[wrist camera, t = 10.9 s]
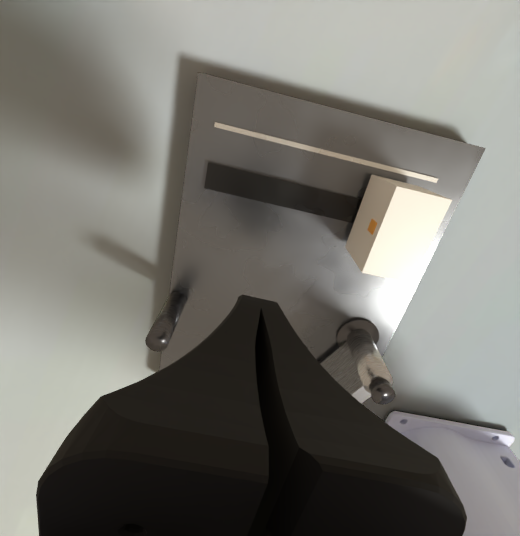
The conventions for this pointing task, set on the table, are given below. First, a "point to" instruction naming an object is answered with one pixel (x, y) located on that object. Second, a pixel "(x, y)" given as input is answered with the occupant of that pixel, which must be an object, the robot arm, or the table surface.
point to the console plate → (292, 217)
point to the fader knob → (395, 228)
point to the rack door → (357, 364)
